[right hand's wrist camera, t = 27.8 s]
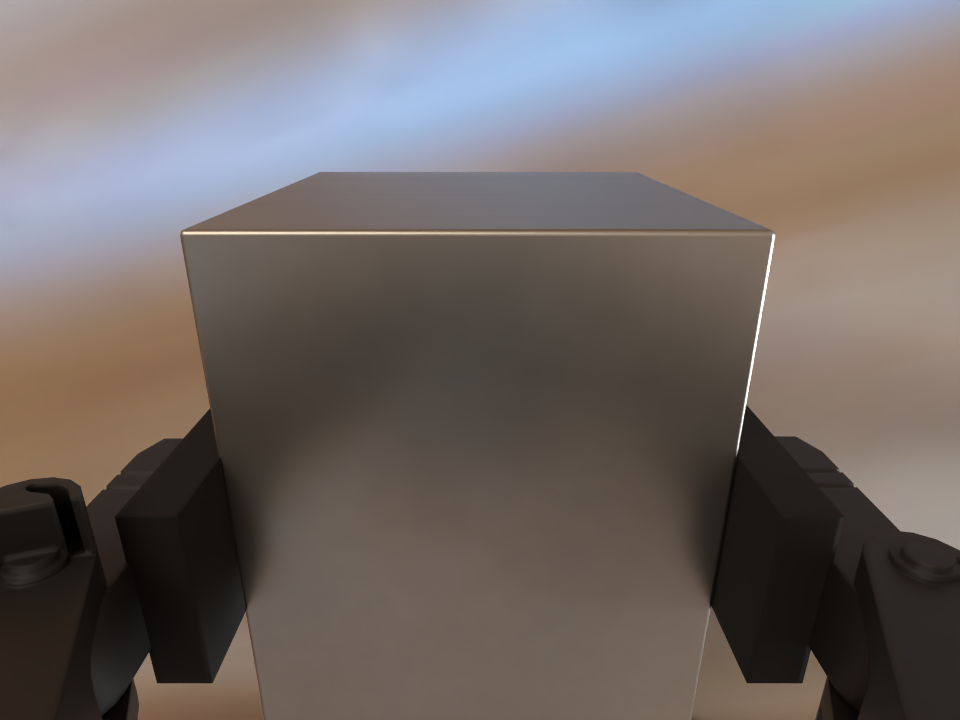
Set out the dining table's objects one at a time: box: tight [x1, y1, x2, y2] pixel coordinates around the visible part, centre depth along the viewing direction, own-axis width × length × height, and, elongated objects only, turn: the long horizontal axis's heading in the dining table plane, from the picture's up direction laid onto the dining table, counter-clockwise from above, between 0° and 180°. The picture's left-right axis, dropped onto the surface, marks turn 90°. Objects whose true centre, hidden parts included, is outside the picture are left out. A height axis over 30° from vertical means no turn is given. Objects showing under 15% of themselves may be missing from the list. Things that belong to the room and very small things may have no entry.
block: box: [180, 172, 775, 720], centre depth 13 cm, size 7×9×7 cm
